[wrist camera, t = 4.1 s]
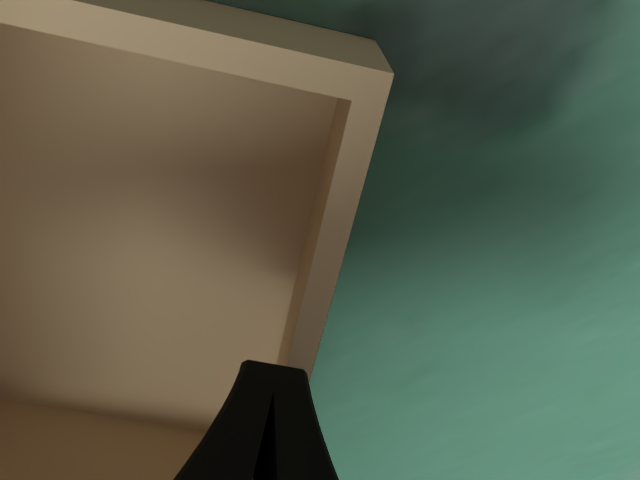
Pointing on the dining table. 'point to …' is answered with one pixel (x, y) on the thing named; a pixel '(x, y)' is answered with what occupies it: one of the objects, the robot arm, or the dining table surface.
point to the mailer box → (165, 218)
